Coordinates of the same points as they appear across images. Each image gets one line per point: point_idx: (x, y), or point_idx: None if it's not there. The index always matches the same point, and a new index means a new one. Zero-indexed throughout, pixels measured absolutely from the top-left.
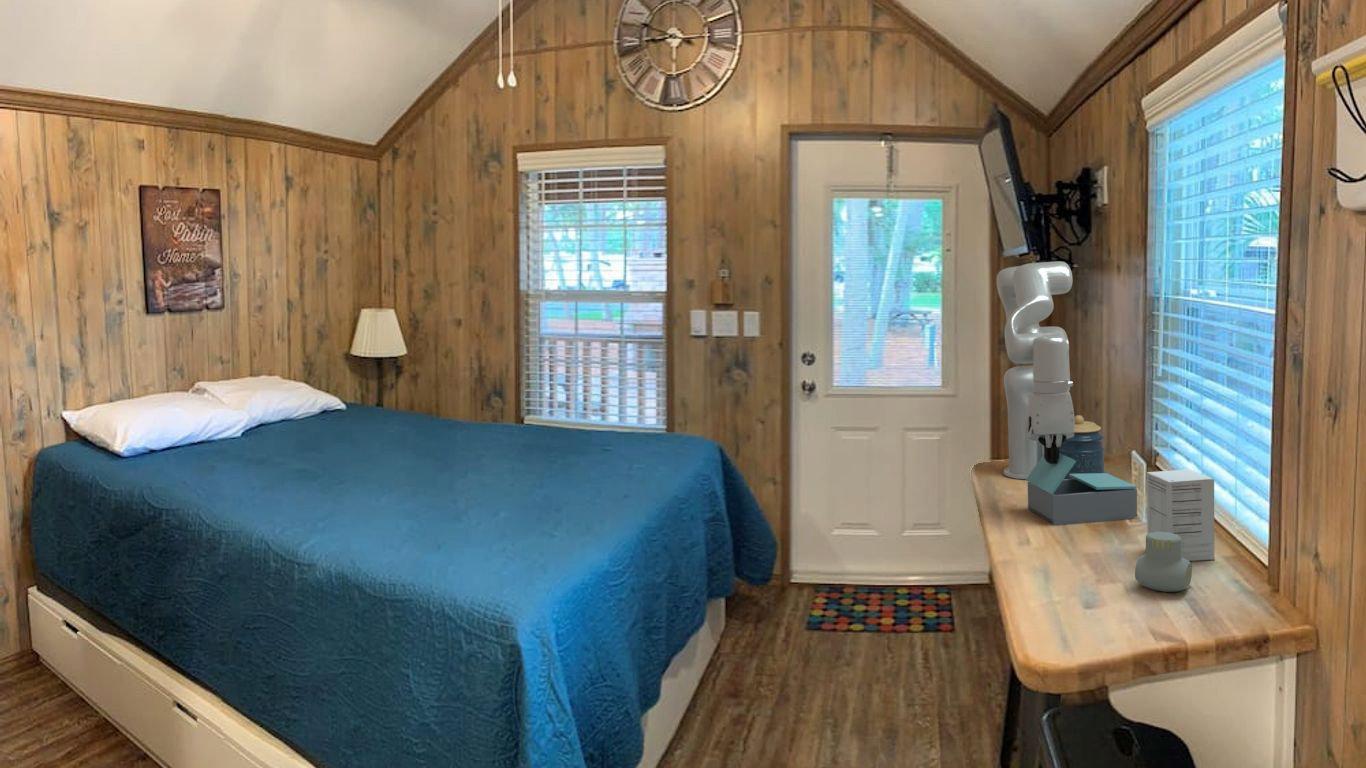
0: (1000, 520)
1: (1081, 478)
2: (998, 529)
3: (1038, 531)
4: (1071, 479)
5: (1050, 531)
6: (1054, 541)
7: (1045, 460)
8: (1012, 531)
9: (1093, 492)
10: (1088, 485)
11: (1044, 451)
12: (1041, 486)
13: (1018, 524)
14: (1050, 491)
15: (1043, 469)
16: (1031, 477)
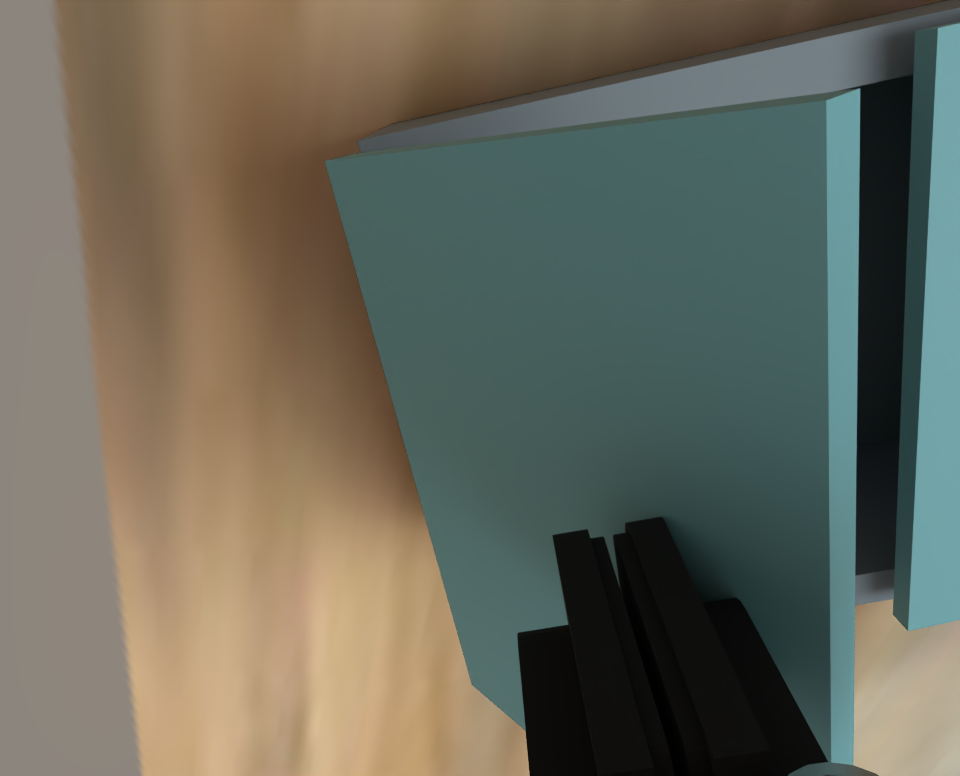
0: (160, 402)
1: (957, 295)
2: (147, 573)
3: (375, 615)
4: (910, 65)
5: (441, 618)
6: (425, 750)
7: (599, 326)
8: (228, 609)
9: (856, 590)
10: (898, 494)
11: (529, 749)
12: (437, 528)
13: (275, 491)
14: (478, 682)
15: (514, 416)
16: (380, 257)
